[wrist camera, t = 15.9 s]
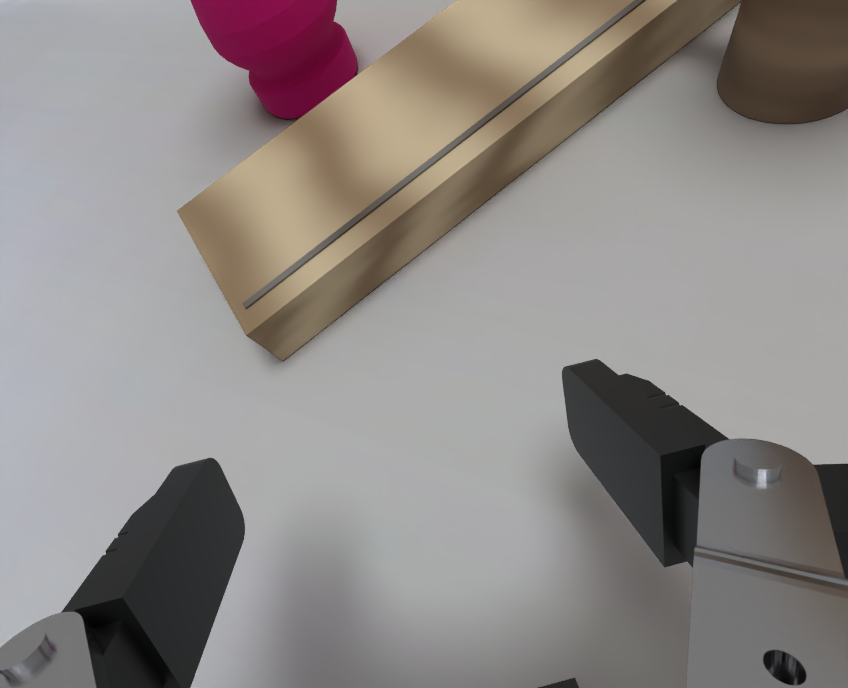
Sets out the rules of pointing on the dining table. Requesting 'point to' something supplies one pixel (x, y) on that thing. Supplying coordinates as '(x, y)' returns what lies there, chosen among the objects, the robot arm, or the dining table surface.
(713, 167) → the dining table surface
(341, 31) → the pepper mill
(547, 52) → the board
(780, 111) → the wooden cylinder yellow top
